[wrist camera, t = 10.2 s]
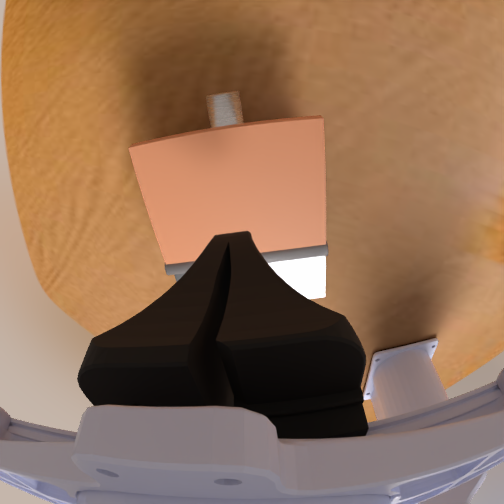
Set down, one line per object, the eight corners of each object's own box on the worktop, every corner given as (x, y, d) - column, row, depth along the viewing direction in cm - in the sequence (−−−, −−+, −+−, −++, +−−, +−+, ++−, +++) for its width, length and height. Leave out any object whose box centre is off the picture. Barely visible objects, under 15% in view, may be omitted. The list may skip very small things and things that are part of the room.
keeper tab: (324, 249, 18) (328, 258, 18) (170, 268, 19) (168, 278, 18) (321, 114, 14) (326, 118, 13) (131, 143, 14) (125, 149, 13)
